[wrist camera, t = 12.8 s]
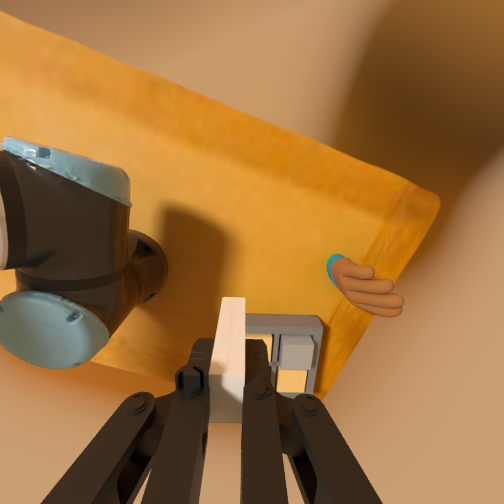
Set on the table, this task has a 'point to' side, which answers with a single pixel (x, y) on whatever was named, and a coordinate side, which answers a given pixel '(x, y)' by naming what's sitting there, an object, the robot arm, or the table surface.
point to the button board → (287, 325)
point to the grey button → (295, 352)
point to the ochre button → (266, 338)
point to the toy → (364, 287)
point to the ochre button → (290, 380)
